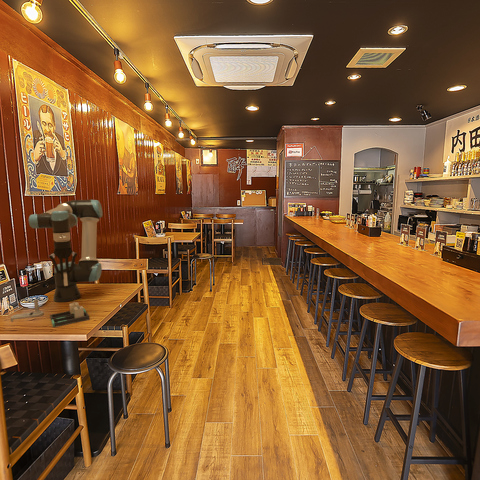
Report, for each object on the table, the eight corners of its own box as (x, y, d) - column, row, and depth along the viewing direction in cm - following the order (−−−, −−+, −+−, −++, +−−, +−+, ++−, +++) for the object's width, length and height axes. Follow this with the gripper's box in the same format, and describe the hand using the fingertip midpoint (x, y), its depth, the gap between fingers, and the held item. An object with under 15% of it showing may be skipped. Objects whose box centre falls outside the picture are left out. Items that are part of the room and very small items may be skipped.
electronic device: (10, 302, 163) (42, 298, 168) (13, 319, 164) (45, 314, 169) (6, 305, 158) (40, 301, 163) (9, 323, 159) (42, 318, 164)
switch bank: (50, 319, 163) (49, 313, 163) (84, 312, 173) (83, 307, 172) (53, 330, 150) (52, 324, 149) (90, 321, 159) (89, 316, 159)
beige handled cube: (74, 318, 161) (73, 306, 160) (82, 316, 163) (81, 304, 162) (75, 320, 157) (74, 308, 156) (84, 319, 160) (83, 306, 159)
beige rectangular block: (70, 314, 166) (69, 302, 165) (78, 312, 169) (77, 300, 168) (71, 316, 163) (70, 304, 162) (79, 314, 166) (78, 302, 165)
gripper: (47, 242, 151) (51, 289, 154) (77, 240, 158) (80, 284, 161) (46, 241, 157) (50, 285, 160) (75, 239, 164) (78, 281, 167)
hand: (65, 285), depth 161 cm, fingers closed
